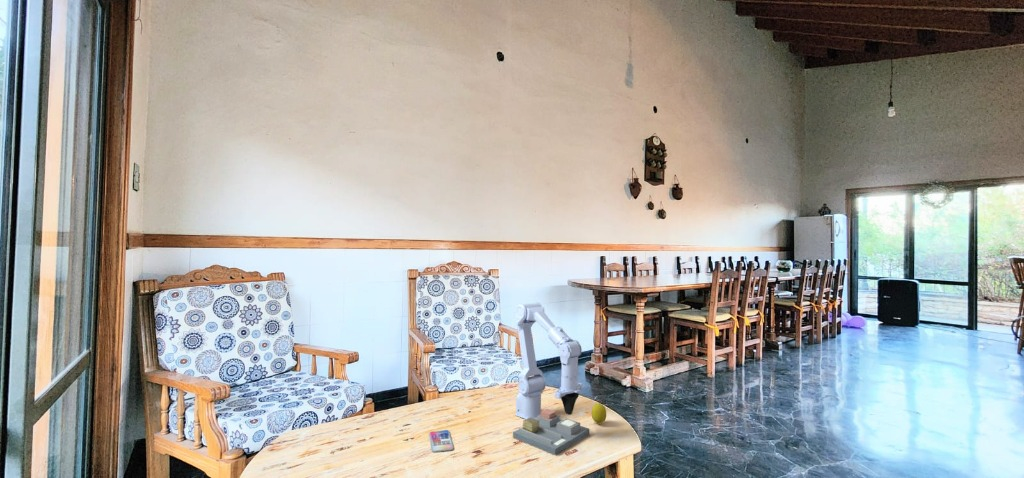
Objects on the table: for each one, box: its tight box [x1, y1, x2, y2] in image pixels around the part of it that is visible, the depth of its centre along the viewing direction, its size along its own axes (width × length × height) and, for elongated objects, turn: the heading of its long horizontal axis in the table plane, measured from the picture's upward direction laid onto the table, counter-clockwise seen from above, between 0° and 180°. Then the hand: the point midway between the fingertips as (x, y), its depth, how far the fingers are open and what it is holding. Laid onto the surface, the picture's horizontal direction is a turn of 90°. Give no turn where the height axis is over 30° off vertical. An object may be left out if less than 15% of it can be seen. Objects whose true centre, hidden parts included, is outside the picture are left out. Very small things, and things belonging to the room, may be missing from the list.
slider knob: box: [522, 417, 539, 433], centre depth 153 cm, size 4×4×4 cm
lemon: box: [591, 402, 607, 425], centre depth 165 cm, size 6×6×8 cm
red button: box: [541, 408, 557, 420], centre depth 161 cm, size 4×4×2 cm
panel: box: [512, 414, 591, 456], centre depth 154 cm, size 18×21×4 cm
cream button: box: [561, 419, 577, 427], centre depth 155 cm, size 4×4×2 cm
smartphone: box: [428, 429, 455, 454], centre depth 148 cm, size 7×1×15 cm
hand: (568, 413), depth 155 cm, fingers closed
